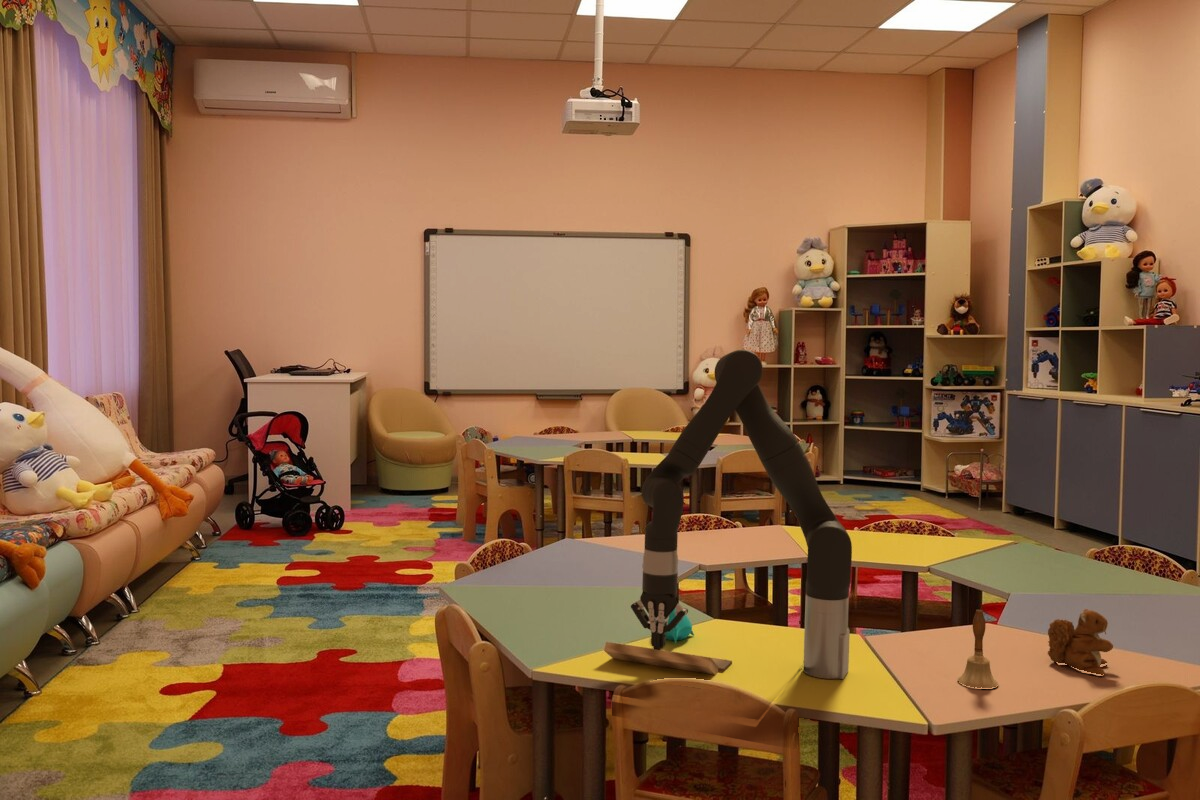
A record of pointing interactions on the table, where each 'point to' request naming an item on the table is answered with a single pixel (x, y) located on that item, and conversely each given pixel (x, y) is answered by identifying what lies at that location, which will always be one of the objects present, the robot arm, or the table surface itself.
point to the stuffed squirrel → (1079, 642)
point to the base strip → (720, 662)
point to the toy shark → (679, 628)
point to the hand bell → (978, 659)
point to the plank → (661, 658)
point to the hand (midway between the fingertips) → (658, 648)
